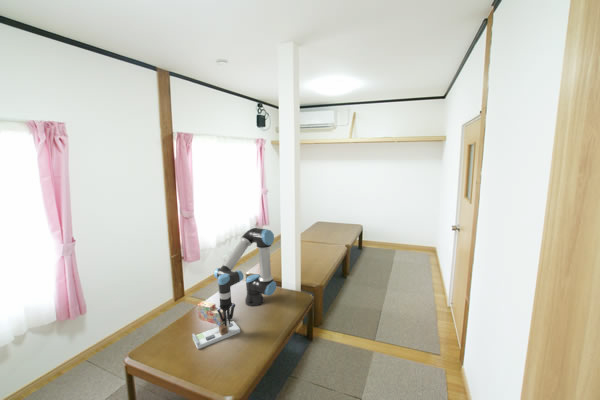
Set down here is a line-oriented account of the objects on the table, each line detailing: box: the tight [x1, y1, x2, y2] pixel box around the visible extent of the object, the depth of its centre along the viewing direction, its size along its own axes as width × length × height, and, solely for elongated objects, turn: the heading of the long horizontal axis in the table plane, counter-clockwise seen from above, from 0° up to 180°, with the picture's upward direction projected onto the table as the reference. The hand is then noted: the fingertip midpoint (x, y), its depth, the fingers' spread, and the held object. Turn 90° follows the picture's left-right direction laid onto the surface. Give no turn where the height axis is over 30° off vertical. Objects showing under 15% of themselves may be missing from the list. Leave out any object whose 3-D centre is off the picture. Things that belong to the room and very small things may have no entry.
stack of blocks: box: [197, 300, 224, 326], centre depth 209 cm, size 21×6×12 cm, turn 65°
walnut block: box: [218, 324, 228, 336], centre depth 190 cm, size 4×4×4 cm
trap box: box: [192, 320, 241, 350], centre depth 190 cm, size 29×12×4 cm, turn 125°
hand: (227, 329), depth 191 cm, fingers closed
